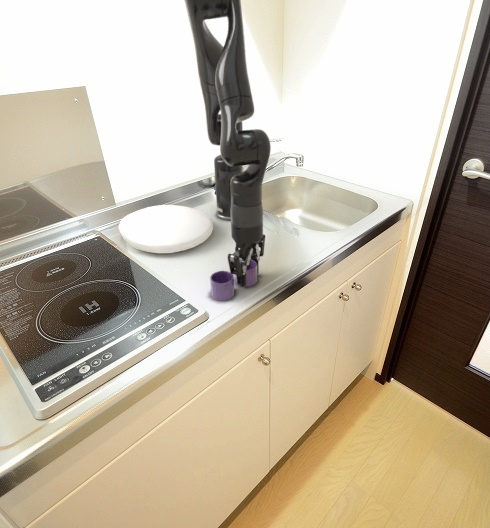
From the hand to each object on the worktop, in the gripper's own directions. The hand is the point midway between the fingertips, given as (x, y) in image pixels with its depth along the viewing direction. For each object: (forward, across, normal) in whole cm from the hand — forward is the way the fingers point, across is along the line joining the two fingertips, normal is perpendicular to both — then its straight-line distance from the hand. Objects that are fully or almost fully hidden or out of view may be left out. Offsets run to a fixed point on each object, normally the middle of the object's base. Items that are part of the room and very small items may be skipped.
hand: (248, 278), depth 94 cm
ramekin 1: (+1, +8, -2) cm, 8 cm away
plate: (+1, -8, -35) cm, 36 cm away
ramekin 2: (+1, 0, -1) cm, 1 cm away
